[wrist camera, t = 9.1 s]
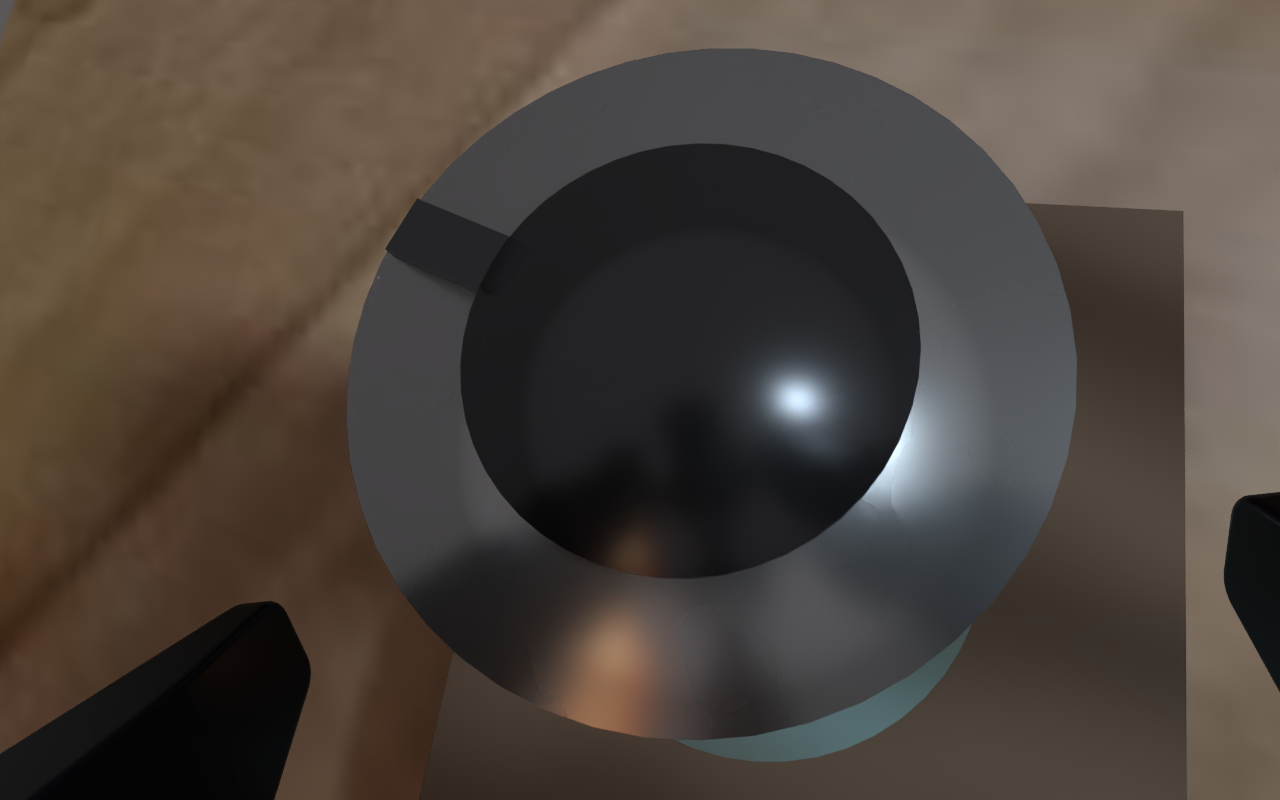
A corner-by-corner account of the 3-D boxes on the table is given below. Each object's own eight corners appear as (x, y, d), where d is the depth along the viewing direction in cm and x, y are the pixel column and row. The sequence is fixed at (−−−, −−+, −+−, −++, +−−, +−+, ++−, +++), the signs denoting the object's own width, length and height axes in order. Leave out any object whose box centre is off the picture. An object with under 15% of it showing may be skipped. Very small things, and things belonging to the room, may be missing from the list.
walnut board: (1140, 1178, 14) (1191, 1258, 12) (420, 959, 18) (371, 995, 16) (1147, 255, 19) (1185, 208, 17) (583, 220, 23) (561, 177, 21)
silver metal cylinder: (835, 762, 15) (877, 928, 5) (553, 600, 17) (209, 508, 7) (969, 463, 17) (1202, 155, 7) (690, 343, 19) (552, -29, 9)
